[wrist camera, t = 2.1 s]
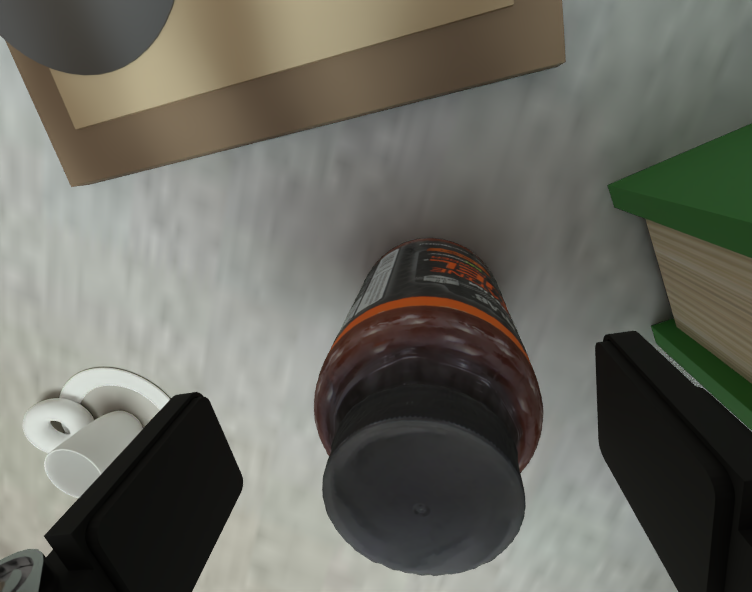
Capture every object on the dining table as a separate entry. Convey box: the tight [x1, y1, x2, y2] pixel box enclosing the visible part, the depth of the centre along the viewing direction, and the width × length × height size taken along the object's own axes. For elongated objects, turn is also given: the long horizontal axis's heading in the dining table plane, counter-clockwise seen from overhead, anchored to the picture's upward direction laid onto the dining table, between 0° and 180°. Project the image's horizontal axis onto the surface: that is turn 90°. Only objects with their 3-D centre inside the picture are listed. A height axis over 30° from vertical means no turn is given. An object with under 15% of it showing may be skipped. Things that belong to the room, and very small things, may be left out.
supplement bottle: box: [314, 238, 543, 576], centre depth 13 cm, size 6×6×11 cm
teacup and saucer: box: [23, 367, 170, 498], centre depth 22 cm, size 9×8×4 cm
